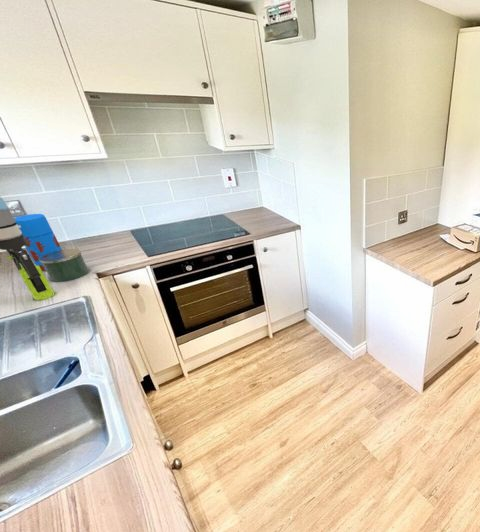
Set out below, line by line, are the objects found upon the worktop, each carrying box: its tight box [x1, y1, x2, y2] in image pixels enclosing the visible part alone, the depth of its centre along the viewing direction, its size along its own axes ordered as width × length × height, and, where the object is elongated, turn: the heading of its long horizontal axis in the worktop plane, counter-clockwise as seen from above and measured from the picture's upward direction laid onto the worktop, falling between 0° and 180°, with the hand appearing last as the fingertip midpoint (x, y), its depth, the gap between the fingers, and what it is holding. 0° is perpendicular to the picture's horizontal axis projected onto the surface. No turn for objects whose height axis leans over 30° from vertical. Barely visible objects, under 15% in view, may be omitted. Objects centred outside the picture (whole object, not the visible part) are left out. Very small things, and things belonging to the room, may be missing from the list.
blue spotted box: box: [14, 213, 63, 272], centre depth 152 cm, size 11×11×25 cm
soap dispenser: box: [5, 255, 55, 301], centre depth 129 cm, size 6×7×20 cm
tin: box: [39, 248, 90, 283], centre depth 148 cm, size 14×14×10 cm
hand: (38, 288), depth 132 cm, fingers closed on soap dispenser, 6 cm apart
